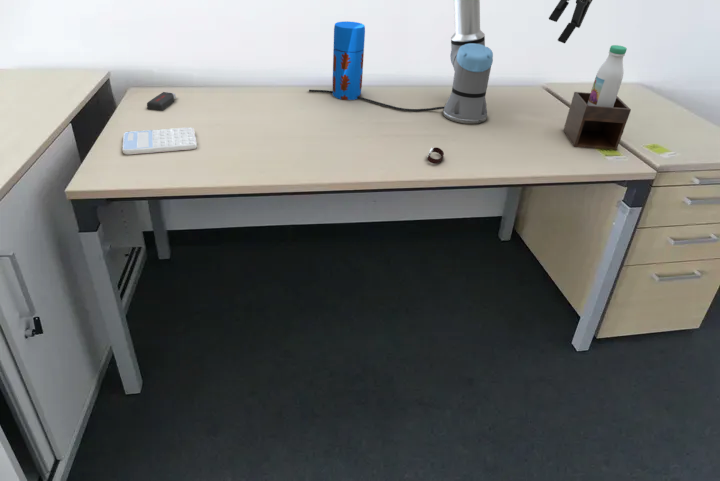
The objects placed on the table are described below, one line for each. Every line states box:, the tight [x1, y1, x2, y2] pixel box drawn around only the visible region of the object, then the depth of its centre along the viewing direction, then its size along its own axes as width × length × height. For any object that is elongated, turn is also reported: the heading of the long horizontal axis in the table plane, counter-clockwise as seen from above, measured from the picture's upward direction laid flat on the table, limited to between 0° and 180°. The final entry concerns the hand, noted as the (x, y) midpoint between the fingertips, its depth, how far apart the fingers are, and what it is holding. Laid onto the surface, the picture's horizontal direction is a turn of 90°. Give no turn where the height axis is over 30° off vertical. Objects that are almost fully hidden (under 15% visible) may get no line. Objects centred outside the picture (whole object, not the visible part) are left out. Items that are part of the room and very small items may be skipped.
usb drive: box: [146, 91, 177, 112], centre depth 180 cm, size 5×12×3 cm, turn 170°
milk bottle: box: [587, 44, 628, 107], centre depth 164 cm, size 8×8×20 cm
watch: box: [426, 146, 445, 165], centre depth 155 cm, size 8×5×4 cm, turn 157°
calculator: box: [121, 126, 198, 155], centre depth 155 cm, size 13×20×2 cm, turn 108°
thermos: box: [332, 21, 366, 101], centre depth 192 cm, size 11×11×25 cm
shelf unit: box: [562, 91, 632, 151], centre depth 172 cm, size 14×14×14 cm
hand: (556, 31), depth 171 cm, fingers open, 13 cm apart
